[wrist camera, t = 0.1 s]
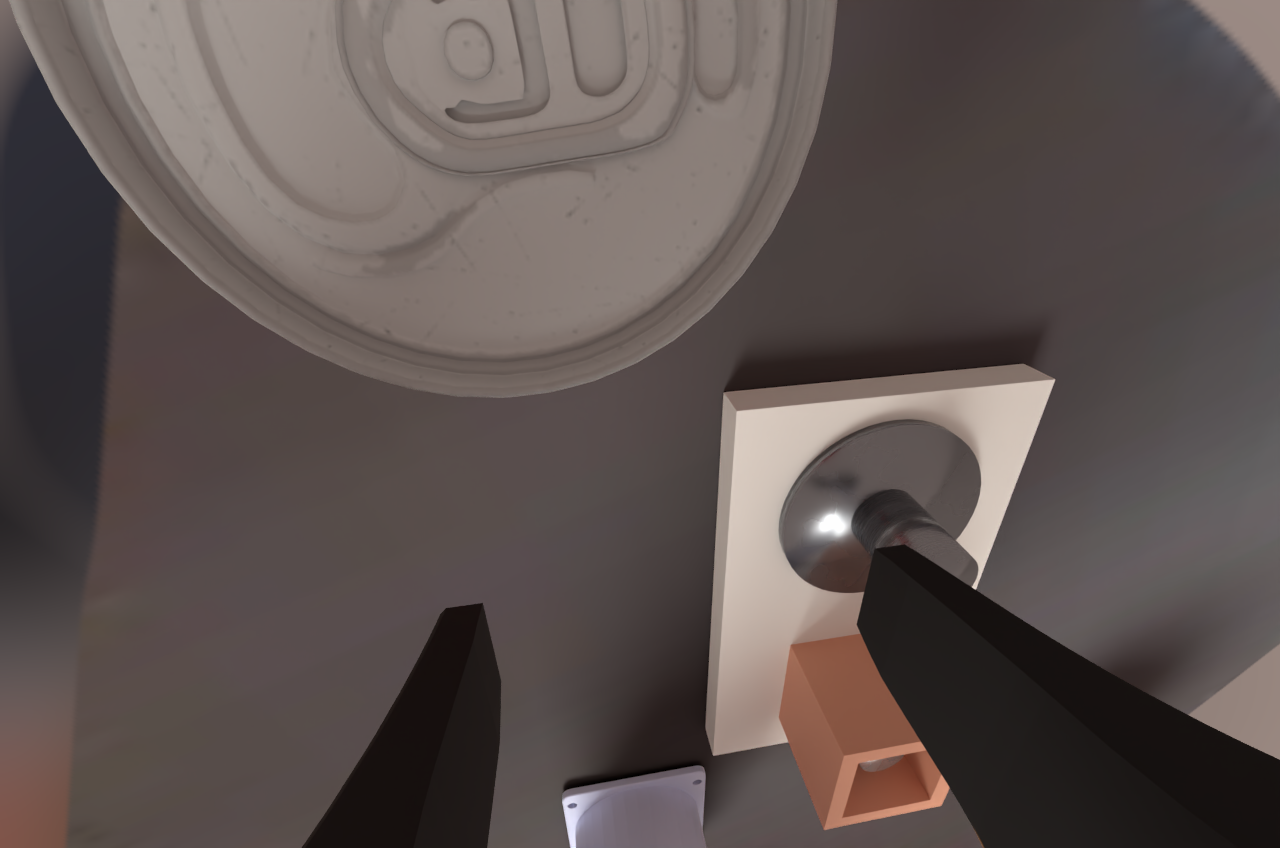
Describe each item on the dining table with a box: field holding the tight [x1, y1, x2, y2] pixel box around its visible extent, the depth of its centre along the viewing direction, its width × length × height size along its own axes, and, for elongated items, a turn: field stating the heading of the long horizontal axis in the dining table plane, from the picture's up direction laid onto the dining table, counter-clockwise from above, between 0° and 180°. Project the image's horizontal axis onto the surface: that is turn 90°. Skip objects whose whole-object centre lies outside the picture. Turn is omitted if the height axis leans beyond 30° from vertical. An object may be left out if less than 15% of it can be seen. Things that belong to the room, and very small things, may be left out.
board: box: [705, 364, 1055, 756], centre depth 24 cm, size 20×12×2 cm, turn 2°
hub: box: [778, 419, 981, 593], centre depth 20 cm, size 8×8×4 cm
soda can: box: [9, 0, 837, 398], centre depth 9 cm, size 7×7×12 cm
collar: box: [779, 634, 950, 830], centre depth 24 cm, size 5×5×5 cm
